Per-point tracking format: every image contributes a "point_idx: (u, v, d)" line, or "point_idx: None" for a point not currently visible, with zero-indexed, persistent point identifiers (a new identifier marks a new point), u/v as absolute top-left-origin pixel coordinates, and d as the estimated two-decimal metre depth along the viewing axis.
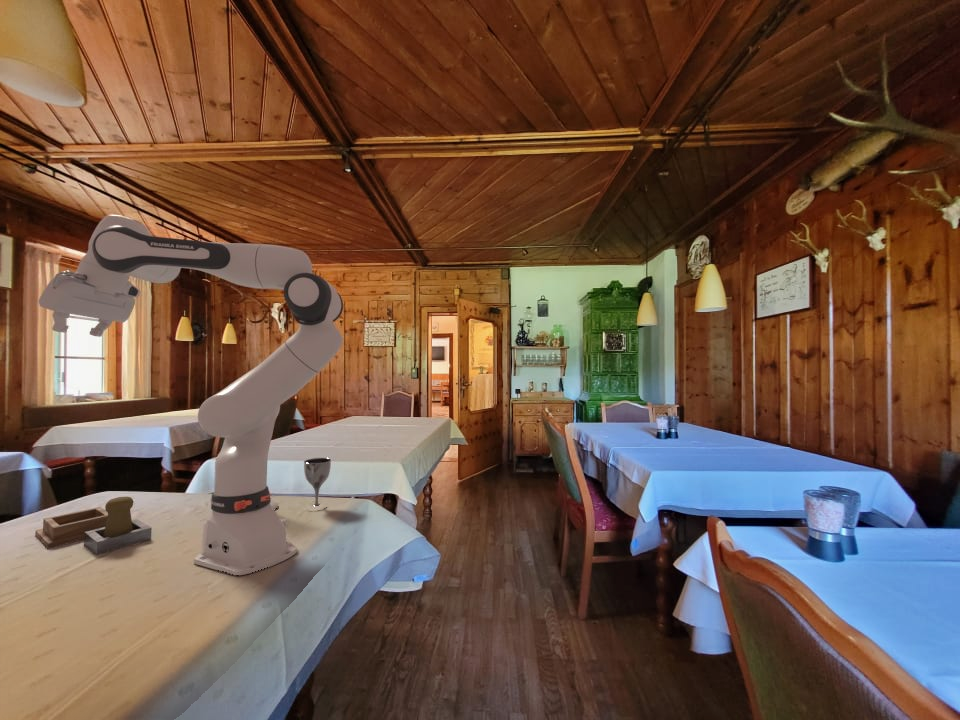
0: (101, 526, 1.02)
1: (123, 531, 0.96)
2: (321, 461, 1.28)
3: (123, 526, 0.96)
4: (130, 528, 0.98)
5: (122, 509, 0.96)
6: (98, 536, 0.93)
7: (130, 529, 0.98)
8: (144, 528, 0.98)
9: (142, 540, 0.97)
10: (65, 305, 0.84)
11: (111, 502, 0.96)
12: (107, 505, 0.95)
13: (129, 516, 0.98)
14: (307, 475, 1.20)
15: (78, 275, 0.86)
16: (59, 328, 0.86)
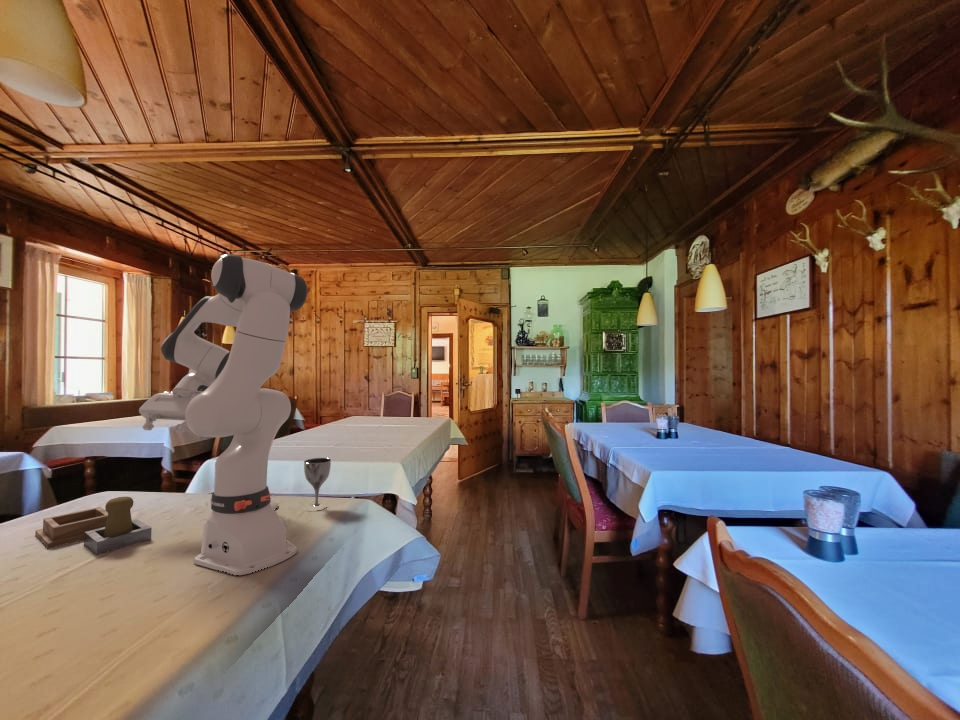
0: (101, 526, 1.02)
1: (123, 531, 0.96)
2: (321, 461, 1.28)
3: (123, 526, 0.96)
4: (130, 528, 0.98)
5: (122, 509, 0.96)
6: (98, 536, 0.93)
7: (130, 529, 0.98)
8: (144, 528, 0.98)
9: (142, 540, 0.97)
10: (146, 407, 1.13)
11: (111, 502, 0.96)
12: (107, 505, 0.95)
13: (129, 516, 0.98)
14: (307, 475, 1.20)
15: (169, 392, 1.19)
16: None
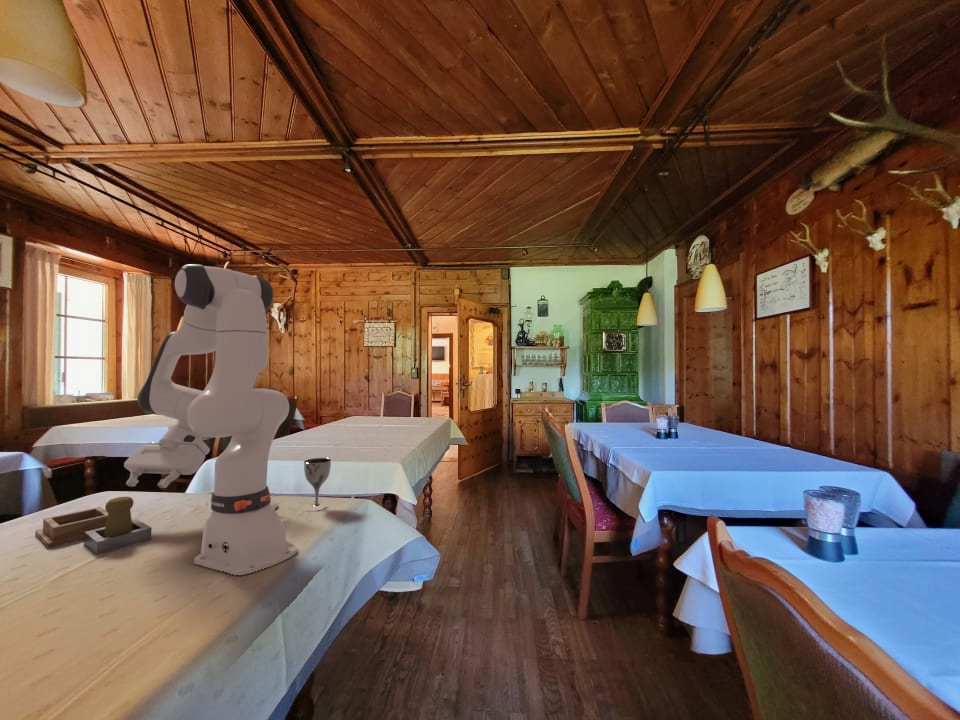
0: (101, 526, 1.02)
1: (123, 531, 0.96)
2: (321, 461, 1.28)
3: (123, 526, 0.96)
4: (130, 528, 0.98)
5: (122, 509, 0.96)
6: (98, 536, 0.93)
7: (130, 529, 0.98)
8: (144, 528, 0.98)
9: (142, 540, 0.97)
10: (132, 460, 1.09)
11: (111, 502, 0.96)
12: (107, 505, 0.95)
13: (129, 516, 0.98)
14: (307, 475, 1.20)
15: None
16: None
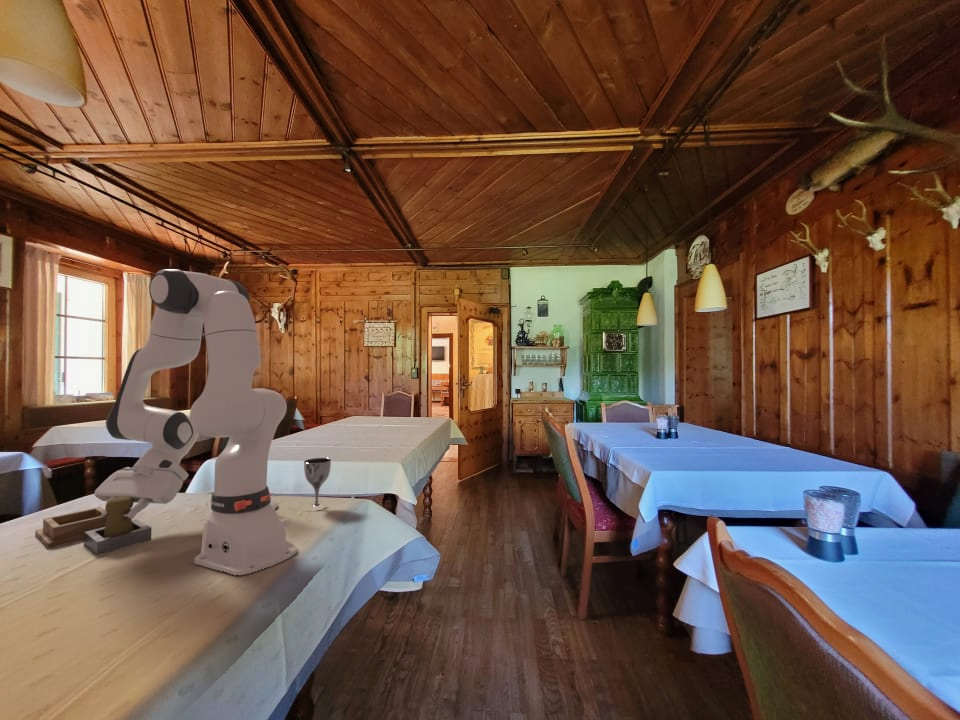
0: (101, 526, 1.02)
1: (123, 531, 0.96)
2: (321, 461, 1.28)
3: (123, 526, 0.96)
4: (130, 528, 0.98)
5: (122, 509, 0.96)
6: (98, 536, 0.93)
7: (130, 529, 0.98)
8: (144, 528, 0.98)
9: (142, 540, 0.97)
10: (103, 488, 1.01)
11: (111, 502, 0.96)
12: (107, 505, 0.95)
13: None
14: (307, 475, 1.20)
15: (131, 468, 1.07)
16: None
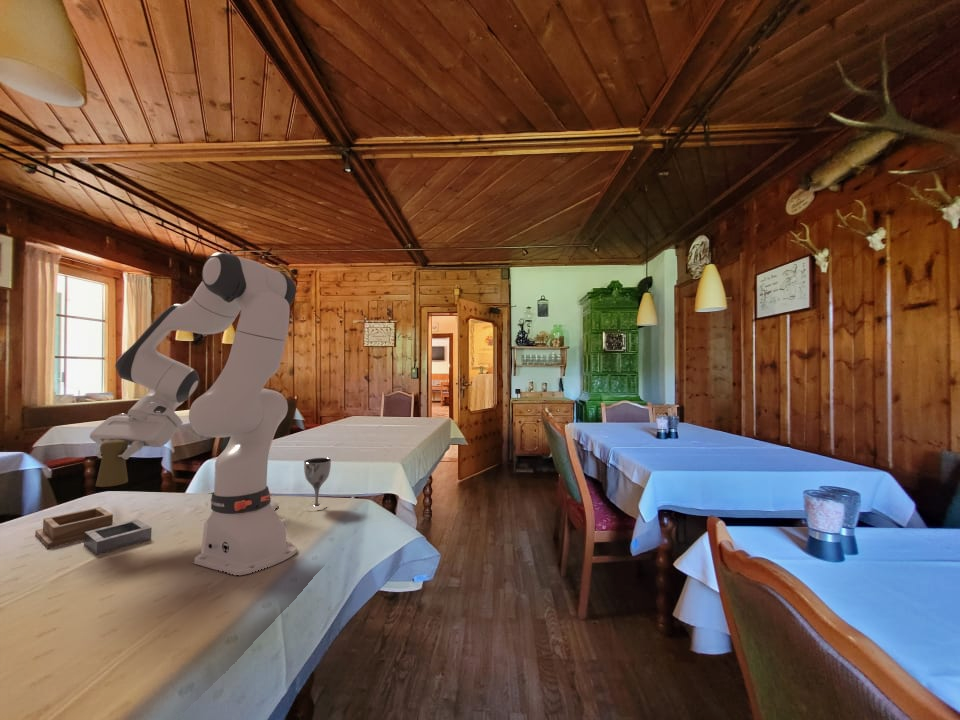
0: (101, 526, 1.02)
1: (117, 472, 0.98)
2: (321, 461, 1.28)
3: (117, 467, 0.98)
4: (124, 470, 1.00)
5: (116, 450, 0.98)
6: (98, 536, 0.93)
7: (124, 471, 1.00)
8: (144, 528, 0.98)
9: (142, 540, 0.97)
10: (98, 431, 1.03)
11: (106, 443, 0.97)
12: (102, 446, 0.97)
13: (123, 459, 1.00)
14: (307, 475, 1.20)
15: (126, 414, 1.09)
16: None
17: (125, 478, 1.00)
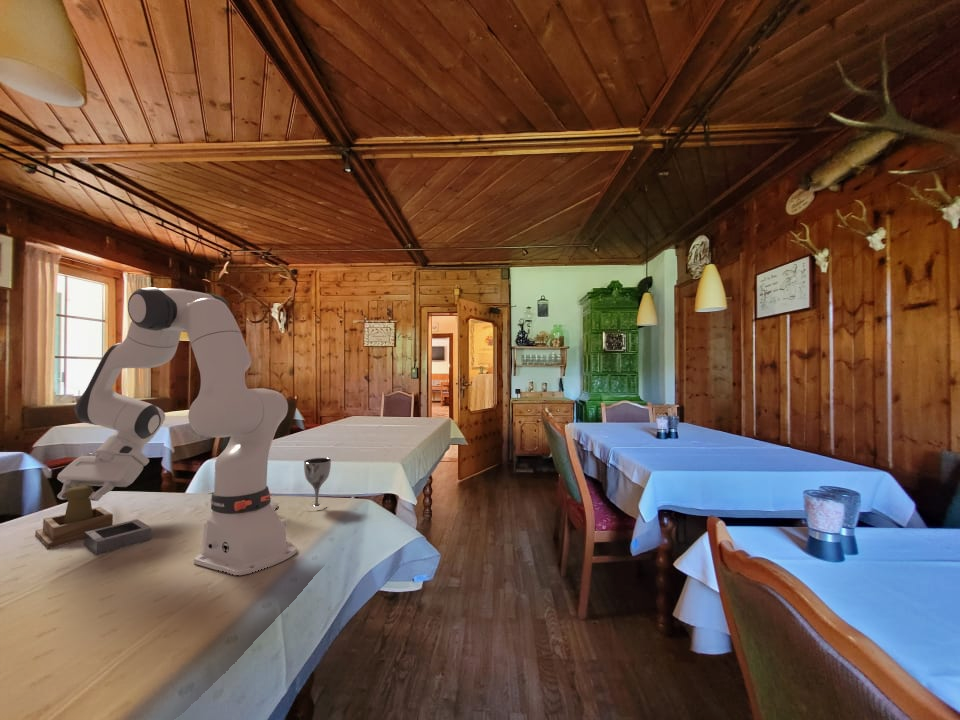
0: (101, 526, 1.02)
1: (82, 518, 1.01)
2: (321, 461, 1.28)
3: (82, 513, 1.02)
4: (90, 515, 1.03)
5: (81, 496, 1.01)
6: (98, 536, 0.93)
7: (90, 516, 1.03)
8: (144, 528, 0.98)
9: (142, 540, 0.97)
10: (65, 472, 1.06)
11: (71, 490, 1.01)
12: (67, 493, 1.01)
13: (89, 504, 1.03)
14: (307, 475, 1.20)
15: (94, 454, 1.12)
16: None
17: None
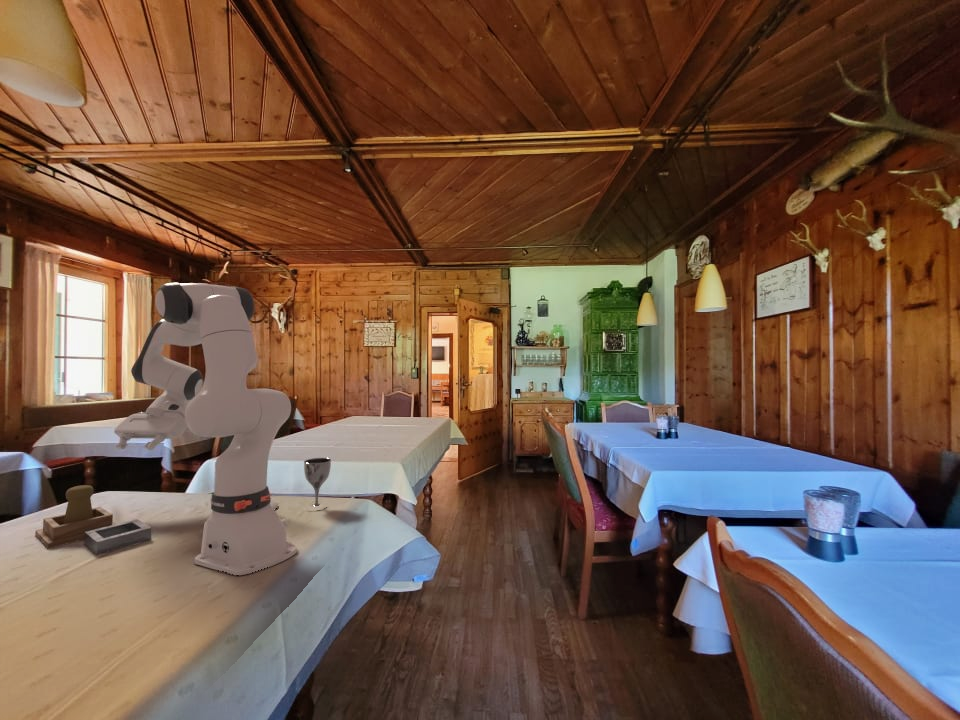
0: (101, 526, 1.02)
1: (82, 518, 1.01)
2: (321, 461, 1.28)
3: (82, 513, 1.02)
4: (90, 515, 1.03)
5: (81, 496, 1.01)
6: (98, 536, 0.93)
7: (90, 516, 1.03)
8: (144, 528, 0.98)
9: (142, 540, 0.97)
10: (121, 427, 1.20)
11: (71, 490, 1.01)
12: (67, 493, 1.01)
13: (89, 504, 1.03)
14: (307, 475, 1.20)
15: (144, 412, 1.26)
16: None
17: None
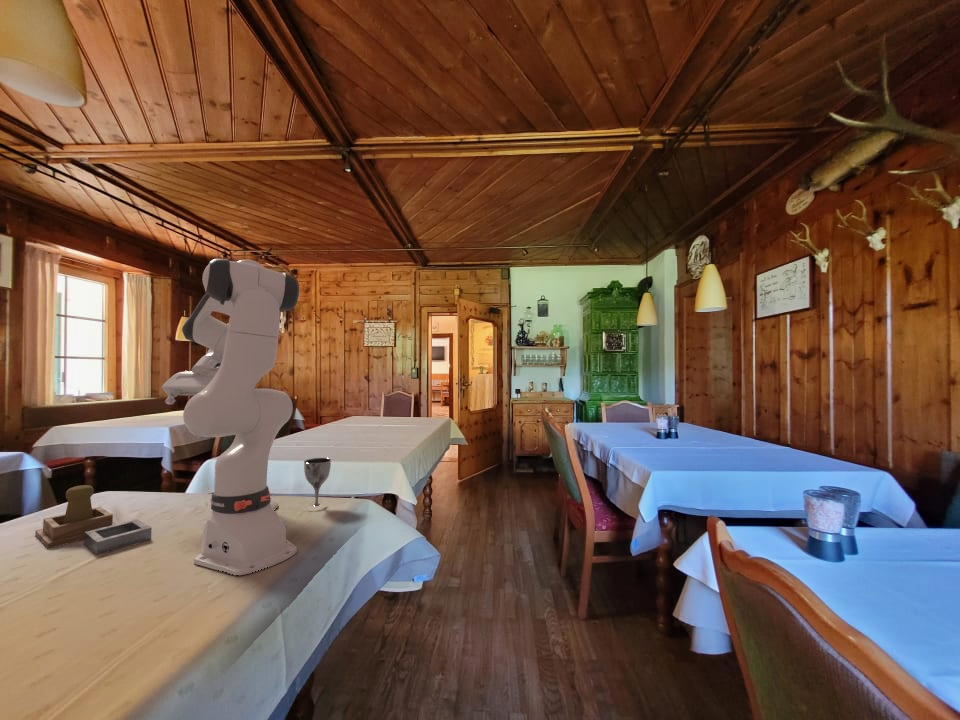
0: (101, 526, 1.02)
1: (82, 518, 1.01)
2: (321, 461, 1.28)
3: (82, 513, 1.02)
4: (90, 515, 1.03)
5: (81, 496, 1.01)
6: (98, 536, 0.93)
7: (90, 516, 1.03)
8: (144, 528, 0.98)
9: (142, 540, 0.97)
10: (168, 383, 1.22)
11: (71, 490, 1.01)
12: (67, 493, 1.01)
13: (89, 504, 1.03)
14: (307, 475, 1.20)
15: (189, 371, 1.28)
16: None
17: None
